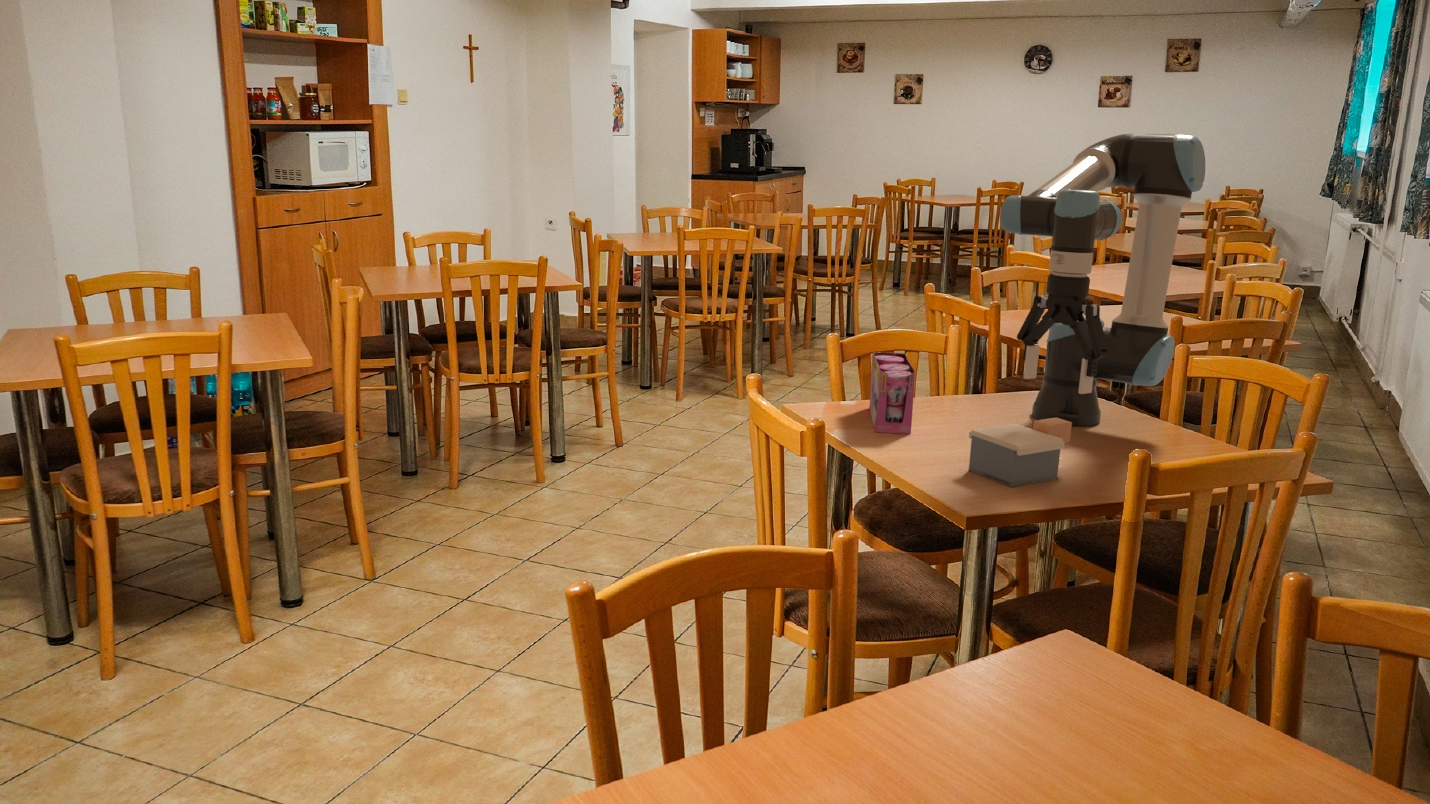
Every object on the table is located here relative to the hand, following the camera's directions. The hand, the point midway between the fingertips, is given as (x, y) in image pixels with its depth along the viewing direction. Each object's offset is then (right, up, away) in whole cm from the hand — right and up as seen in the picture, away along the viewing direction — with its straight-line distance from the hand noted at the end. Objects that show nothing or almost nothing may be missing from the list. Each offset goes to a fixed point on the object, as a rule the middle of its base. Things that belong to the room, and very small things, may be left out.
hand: (1056, 385), depth 202 cm
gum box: (-26, -8, +37) cm, 46 cm away
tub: (-9, -17, -1) cm, 19 cm away
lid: (-6, -11, 0) cm, 13 cm away
